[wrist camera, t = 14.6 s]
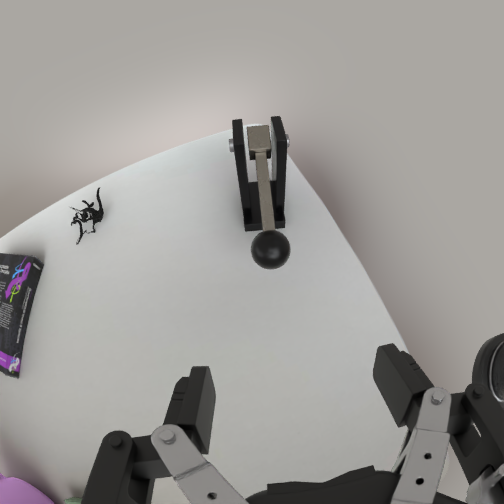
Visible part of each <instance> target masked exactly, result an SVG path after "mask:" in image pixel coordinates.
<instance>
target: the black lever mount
mask: <svg viewBox="0 0 504 504" xmlns="http://www.w3.org/2000/svg"><path fill="white" fill-rule="evenodd" d="M232 125H233V139H229V147H230V152H234V154H235V160H236V167H237V174H238V181H239V188H240V195H241V202H242V209H243V215H244V227H245V231H257V230H263V228H262V218H261V209H260V199H259V189H258V182H249V181H248V172H247V162H246V153H245V143H244V134H243V124H242V119H238V120H233V121H232ZM271 146H272V181H270V189H271V197H272V206H273V215H274V224H275V229H279V228H285V216H284V202H285V182H286V160H287V147H289V137H288V135H287V134H285V131H284V127H283V124H282V120H281V117H280V116H275V117H271Z"/></svg>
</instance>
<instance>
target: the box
mask: <svg viewBox="0 0 504 504" xmlns="http://www.w3.org/2000/svg"><path fill="white" fill-rule="evenodd" d="M43 265H44V264H43V263H42V262H41V261H40V260H39V259H38V258H37V257H35V256H26V255H15V254H4V253H0V371H1V372H3V373H4V374H5V375H6V376H10V377H14V378H19V370H20V362H21V354H22V348H23V342H24V337H25V332H26V327H27V322H28V318H29V314H30V309H31V306H32V302H33V298H34V294H35V291H36V287H37V284H38V281H39V278H40V274H41V271H42V268H43Z"/></svg>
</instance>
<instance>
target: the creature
mask: <svg viewBox="0 0 504 504" xmlns="http://www.w3.org/2000/svg"><path fill="white" fill-rule="evenodd" d="M99 189H100V188H98V190H97V200H98V203H99V210H98V211H97V210H95V209H94V208H90V207H92V206H93V205H94V202H92V204H90V205H89V204H88V203H87V202H86V201H84V200H83V201H82V202H84V203H86V204H87V205H88V208H85V209H83V210H81V211H83V214H80V213H79V212H78V213H79V214H80V215H81V217H82V219H80V218H78V215H77V213H76V214H75V215H76V217H74V219H73V222H71V225H72V223H73V224H76V222H78V223H79V225H80V239H79V241H78V240H77V241H78V243H79V242H80V240H81V238H82V236H83V234H84V233H85V232H86V231H85V232H84V233H83V229H82V223H81V221H82V222H84V223H85V222H87V221H88V220H92V219H93V230H94V231H91V232H94V233H95V229H94V225H95V224H96V223H97V222H101V220H102V218H103V214H104V212H103V208H102V204H101V200H100V197H99ZM71 208H72V207H71ZM73 209H74V208H73ZM74 210H75V209H74ZM76 210H77V209H76ZM76 210H75V211H76ZM78 211H79V210H78ZM81 211H80V212H81ZM87 212H89V213H91V214H92V216H91V215H90V218H88V213H87ZM77 218H78V219H79V220H81V221H79V220H75V219H77ZM86 218H88V219H87V220H86ZM91 232H90V233H91ZM78 243H76V244H78Z"/></svg>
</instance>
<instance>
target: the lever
mask: <svg viewBox="0 0 504 504" xmlns="http://www.w3.org/2000/svg"><path fill="white" fill-rule="evenodd" d="M247 136H248V146H249V156H250V160H255V161H256V170H257V180H258V189H259V199H260V209H261V218H262V228H263V232H261V233H259V234H258V235H257V236H256V237H255V238H254V240H253V242H252V245H251V254H252V257H253V259H254V261H255V262H256V263H257V264H258V265H259V266H261V267H262V268H265V269H276V268H279V267H281V266H283V265H284V264H285V263H286V262H287V260H288V258H289V256H290V243H289V241H288V239H287V238H286V236H285V235H283V234H282V233H281V232H279V231H276V230H275V224H274V215H273V206H272V197H271V189H270V180H269V172H268V164H267V159H271V151H272V146H271V139H270V132H269V126H268V125H263V126H251V127H247Z"/></svg>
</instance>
